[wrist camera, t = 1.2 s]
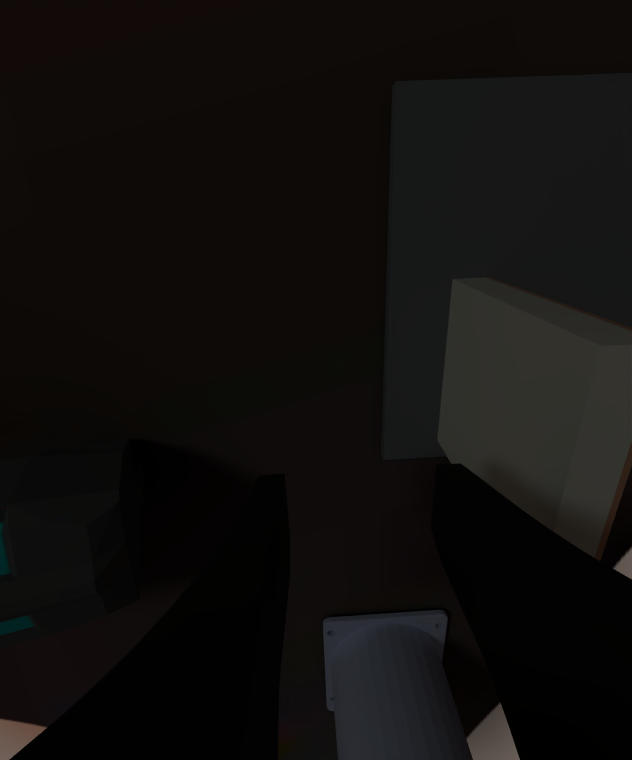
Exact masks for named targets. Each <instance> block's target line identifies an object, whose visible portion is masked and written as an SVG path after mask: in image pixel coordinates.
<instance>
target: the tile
mask: <svg viewBox="0 0 632 760" xmlns="http://www.w3.org/2000/svg"><path fill="white" fill-rule="evenodd" d="M437 441H438V442H439V444H440V446H441V447H442V449H443V451H444V452H445V454H446V456H447V457H448V459H449V461H450V462H451V464H458V463H461V464H462V465H464V466H465V467H466V468H468V469H469V470H470V471H472V472H473V473H474V474H476V475H477V476H478V477H480V478H481V479H482V480H484V481H485V482H486V483H487V484H489V485H490V486H491V487H493V488H494V489H495V490H497V491H498V492H499V493H501V494H502V495H503V496H505V497H506V498H507V499H508V500H510V501H511V502H512V503H514V504H515V505H517V506H518V507H519V508H521V509H522V510H523V511H525V512H526V513H528V514H529V515H530V516H532V517H533V518H535V519H536V520H537V521H539V522H540V523H542V524H543V525H545V526H546V527H547V528H549V529H550V530H552V531H553V532H555V533H556V534H558V535H559V536H561V537H562V538H564V539H565V540H567V541H568V542H570V543H572V544H573V545H575V546H576V547H578V548H579V549H581V550H582V551H584V552H586V553H587V554H589V555H591V556H592V557H594V558H596V559H597V560H599V561H600V560H601V557H602V554H603V551H604V548H605V545H606V542H607V539H608V536H609V533H610V530H611V527H612V524H613V521H614V518H615V515H616V512H617V509H618V506H619V502H620V499H621V496H622V493H623V490H624V487H625V484H626V481H627V478H628V475H629V472H630V469H631V466H632V328H631V327H628V326H625V325H622V324H620V323H617V322H614V321H611V320H608V319H606V318H603V317H600V316H597V315H594V314H592V313H589V312H586V311H583V310H580V309H578V308H575V307H572V306H569V305H566V304H563V303H561V302H558V301H555V300H552V299H549V298H547V297H544V296H541V295H538V294H535V293H533V292H530V291H527V290H524V289H521V288H519V287H516V286H513V285H510V284H507V283H505V282H502V281H499V280H496V279H493V278H490V277H484V278H463V279H453V280H452V290H451V301H450V311H449V322H448V332H447V343H446V354H445V364H444V375H443V385H442V396H441V407H440V417H439V428H438V438H437Z"/></svg>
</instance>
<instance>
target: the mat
mask: <svg viewBox="0 0 632 760" xmlns="http://www.w3.org/2000/svg"><path fill="white" fill-rule="evenodd" d="M484 277H490V278H493V279H496V280H499V281H502V282H505V283H507V284H510V285H513V286H516V287H519V288H521V289H524V290H527V291H530V292H533V293H535V294H538V295H541V296H544V297H547V298H549V299H552V300H555V301H558V302H561V303H563V304H566V305H569V306H572V307H575V308H578V309H580V310H583V311H586V312H589V313H592V314H594V315H597V316H600V317H603V318H606V319H608V320H611V321H614V322H617V323H620V324H622V325H625V326H628V327H631V328H632V73H618V74H589V75H561V76H532V77H504V78H475V79H447V80H418V81H396V82H395V83H394V85H393V86H392V113H391V146H390V180H389V213H388V246H387V280H386V313H385V346H384V379H383V413H382V446H381V454H382V457H383V460H395V459H412V458H429V457H446V454H445V452H444V451H443V449H442V447H441V446H440V444H439V442H438V441H437V438H438V428H439V417H440V407H441V396H442V385H443V375H444V364H445V354H446V343H447V332H448V322H449V311H450V301H451V290H452V280H453V279H463V278H484Z"/></svg>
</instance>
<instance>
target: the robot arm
mask: <svg viewBox="0 0 632 760" xmlns="http://www.w3.org/2000/svg"><path fill="white" fill-rule="evenodd" d="M431 528H432V532H433V535H434V539H435V542H436V545H437V549H438V552H439V555H440V558H441V561H442V564H443V567H444V569H445V571H446V574H447V576H448V578H449V580H450V583H451V585H452V587H453V589H454V592H455V594H456V596H457V599H458V601H459V603H460V605H461V607H462V610H463V612H464V614H465V616H466V619H467V621H468V623H469V625H470V628H471V630H472V632H473V634H474V636H475V639H476V641H477V643H478V645H479V648H480V650H481V652H482V654H483V657H484V659H485V662H486V664H487V667H488V669H489V672H490V674H491V676H492V679H493V682H494V685H495V688H496V691H497V693H498V696H499V699H500V702H501V705H502V708H503V711H504V713H505V716H506V719H507V722H508V725H509V728H510V731H511V734H512V737H513V740H514V743H515V746H516V749H517V752H518V755H519V758H520V760H632V579H630V578H628V577H626V576H625V575H623V574H621V573H620V572H617V571H616V570H614V569H613V568H611V567H609V566H608V565H606V564H604V563H602V562H601V561H599V560H597V559H596V558H594V557H592V556H591V555H589V554H587V553H586V552H584V551H582V550H581V549H579V548H578V547H576V546H575V545H573V544H572V543H570V542H568V541H567V540H565V539H564V538H562V537H561V536H559V535H558V534H556V533H555V532H553V531H552V530H550V529H549V528H547V527H546V526H545V525H543V524H542V523H540V522H539V521H537V520H536V519H535V518H533V517H532V516H530V515H529V514H528V513H526V512H525V511H523V510H522V509H521V508H519V507H518V506H517V505H515V504H514V503H512V502H511V501H510V500H508V499H507V498H506V497H505V496H503V495H502V494H501V493H499V492H498V491H497V490H495V489H494V488H493V487H491V486H490V485H489V484H487V483H486V482H485V481H484V480H482V479H481V478H480V477H478V476H477V475H476V474H474V473H473V472H472V471H470V470H469V469H468V468H466V467H465V466H464V465H462V464H461V463H458V464H441V465H437V469H436V480H435V490H434V500H433V511H432V521H431ZM289 578H290V533H289V521H288V510H287V498H286V487H285V475H284V474H274V475H260V476H259V477H258V478H257V479H256V482H255V484H254V486H253V488H252V490H251V492H250V494H249V496H248V498H247V500H246V502H245V503H244V505H243V507H242V509H241V510H240V512H239V514H238V515H237V517H236V519H235V520H234V522H233V524H232V525H231V527H230V528H229V530H228V532H227V533H226V535H225V536H224V538H223V539H222V541H221V542H220V544H219V545H218V547H217V548H216V549H215V551H214V552H213V554H212V555H211V557H210V558H209V559H208V561H207V562H206V564H205V565H204V566H203V568H202V569H201V570H200V572H199V573H198V574H197V576H196V577H195V578H194V580H193V581H192V582H191V583H190V585H189V586H188V587H187V588H186V590H185V591H184V592H183V593H182V594H181V596H180V597H179V598H178V599H177V600H176V602H175V603H174V604H173V605H172V606H171V607H170V609H169V610H168V611H167V612H166V613H165V614H164V615H163V616H162V617H161V619H160V620H159V621H158V622H157V623H156V624H155V625H154V626H153V627H152V629H151V630H150V631H149V632H148V633H147V634H146V635H145V636H144V637H143V638H142V639H141V640H140V641H139V642H138V643H137V644H136V646H135V647H134V648H133V649H132V650H131V651H130V652H129V653H128V654H127V655H126V656H125V657H124V658H123V659H121V660H120V661H119V662H118V663H117V664H116V665H115V666H114V667H113V668H112V669H111V670H110V671H109V672H108V673H107V674H106V675H105V676H104V677H103V678H102V679H101V680H100V681H98V682H97V683H96V684H95V685H94V686H93V687H92V688H91V689H90V690H89V691H88V692H87V693H86V694H85V695H84V696H83V697H82V698H81V699H80V700H78V701H77V702H76V703H75V704H74V705H73V706H72V707H71V708H70V709H68V710H67V711H66V712H65V713H64V714H63V715H62V716H60V717H59V718H58V719H57V720H56V721H55V722H53V723H52V724H51V725H50V726H49V727H47V728H46V729H45V730H44V731H43V732H42V733H40V734H39V735H38V736H37V737H36V738H35V739H34V740H32V741H31V742H30V743H29V744H27V745H26V746H25V747H24V748H23V749H22V750H20V751H19V752H18V753H17V754H16V755H14V756H13V757H12V758H11V759H10V760H278V711H279V684H280V669H281V659H282V649H283V639H284V629H285V619H286V609H287V598H288V588H289ZM447 621H448V617H447V614H446V612H445V611H443V610H427V611H413V612H398V613H384V614H369V615H355V616H341V617H329V618H326V619H325V620H324V621H323V635H324V656H325V676H326V697H327V708H328V709H329V710H331V711H335V723H336V736H337V749H338V760H473V759H472V755H471V752H470V749H469V746H468V743H467V740H466V737H465V734H464V730H463V727H462V724H461V721H460V718H459V715H458V712H457V709H456V705H455V702H454V699H453V696H452V693H451V690H450V687H449V684H448V680H447V677H446V674H445V671H444V668H443V665H442V659H443V651H444V644H445V636H446V629H447Z"/></svg>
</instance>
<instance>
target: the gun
mask: <svg viewBox="0 0 632 760" xmlns="http://www.w3.org/2000/svg"><path fill="white" fill-rule="evenodd" d="M145 502H146V494H145V481H144V473H143V467H142V464H138V465H134V460H133V454H132V448H131V443H130V440H129V438H126V439H119V440H111V441H104V442H97V443H90V444H83V445H76V446H69V447H61V448H54V449H50V450H47V451H44V452H42V453H39V454H36V455H33V456H30V457H24V458H17V459H10V460H3V461H0V648H3V647H7V646H10V645H14V644H18V643H21V642H25V641H28V640H32V639H36V638H39V637H43V636H47V635H50V634H54V633H57V632H61V631H64V630H67V629H71V628H74V627H78V626H80V625H83V624H85V623H88V622H90V621H93V620H95V619H98V618H100V617H103V616H105V615H108V614H110V613H112V612H114V611H116V610H118V609H120V608H122V607H124V606H126V605H128V604H130V603H132V602H134V601H136V600H138V599H139V597H140V561H141V541H140V505H142V504H145Z"/></svg>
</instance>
